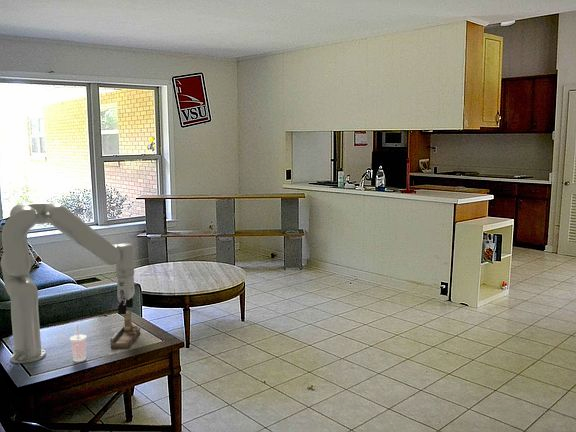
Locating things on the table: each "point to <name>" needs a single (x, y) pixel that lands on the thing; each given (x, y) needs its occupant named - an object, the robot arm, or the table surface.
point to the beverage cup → (78, 346)
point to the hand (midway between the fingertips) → (125, 310)
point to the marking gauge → (128, 322)
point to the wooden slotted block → (123, 337)
